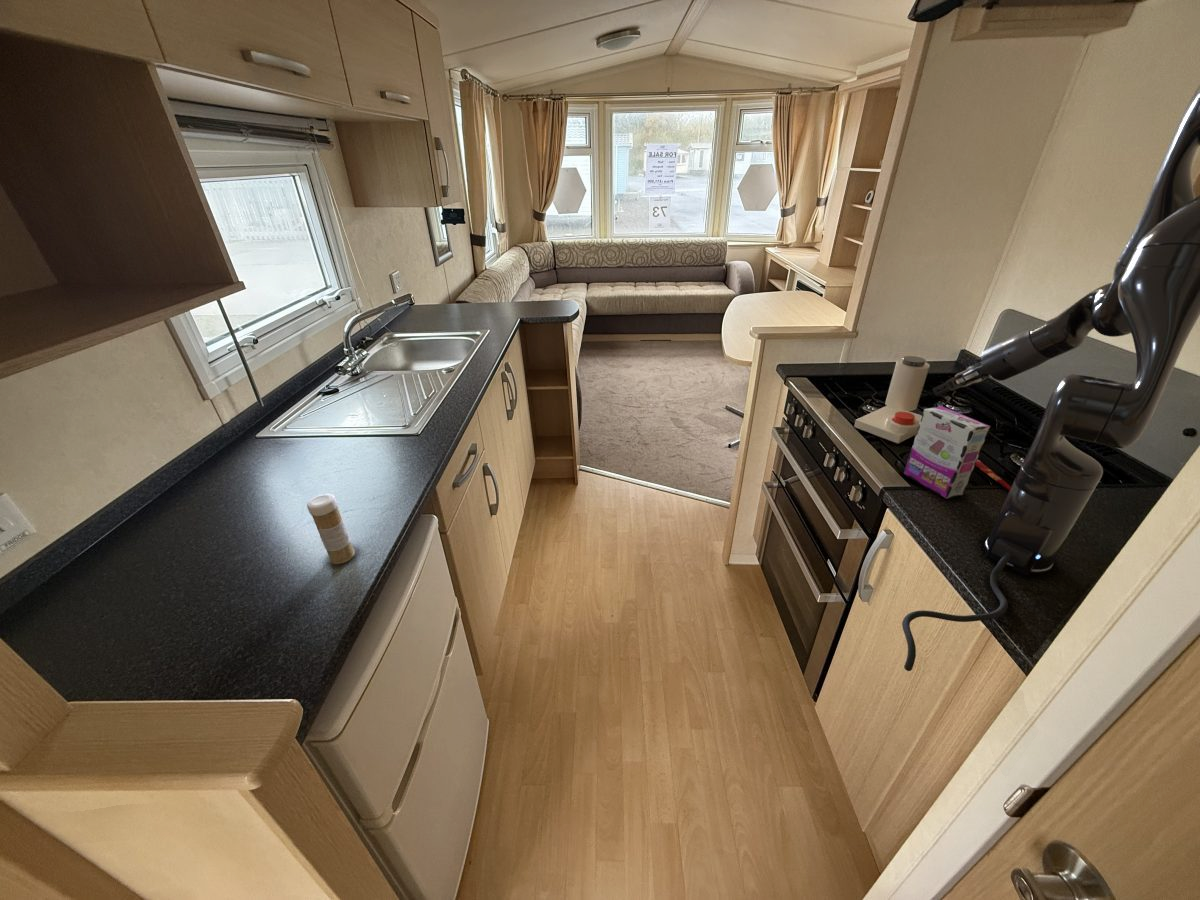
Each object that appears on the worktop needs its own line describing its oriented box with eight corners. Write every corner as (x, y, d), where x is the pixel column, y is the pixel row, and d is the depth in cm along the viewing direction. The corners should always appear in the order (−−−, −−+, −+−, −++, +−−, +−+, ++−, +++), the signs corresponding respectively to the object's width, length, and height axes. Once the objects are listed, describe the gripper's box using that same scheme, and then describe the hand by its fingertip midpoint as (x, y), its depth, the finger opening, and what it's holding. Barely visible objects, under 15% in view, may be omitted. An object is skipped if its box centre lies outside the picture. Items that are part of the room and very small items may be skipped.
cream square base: (902, 445, 120) (907, 431, 118) (853, 426, 130) (857, 413, 128) (935, 428, 128) (940, 414, 126) (886, 411, 138) (890, 398, 136)
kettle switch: (906, 427, 121) (909, 420, 120) (889, 421, 124) (891, 414, 123) (916, 423, 123) (918, 415, 122) (898, 417, 126) (900, 410, 125)
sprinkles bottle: (335, 550, 94) (312, 493, 87) (359, 548, 94) (338, 491, 88) (326, 566, 90) (301, 508, 83) (351, 564, 90) (328, 506, 84)
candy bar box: (964, 495, 101) (992, 426, 93) (946, 500, 100) (973, 430, 92) (919, 469, 111) (941, 404, 103) (902, 473, 110) (923, 408, 101)
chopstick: (1022, 504, 98) (1024, 500, 97) (950, 447, 119) (951, 443, 118) (1032, 503, 98) (1034, 500, 97) (958, 446, 118) (959, 443, 118)
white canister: (907, 413, 127) (921, 366, 121) (879, 404, 133) (891, 358, 126) (922, 406, 131) (937, 359, 124) (894, 397, 136) (907, 352, 130)
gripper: (1019, 334, 103) (940, 372, 118) (991, 345, 97) (912, 384, 112) (1039, 363, 102) (957, 399, 117) (1012, 377, 96) (929, 412, 111)
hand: (935, 392), depth 115 cm, fingers closed
